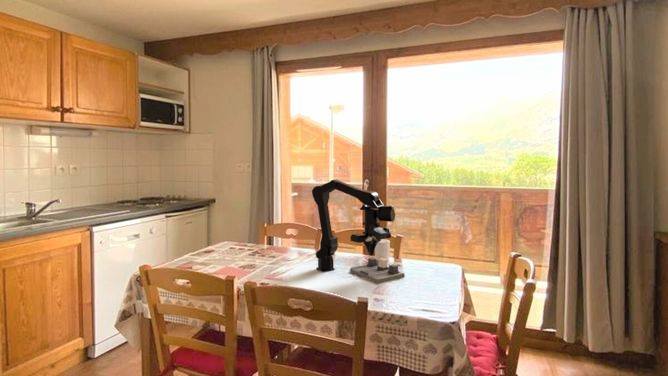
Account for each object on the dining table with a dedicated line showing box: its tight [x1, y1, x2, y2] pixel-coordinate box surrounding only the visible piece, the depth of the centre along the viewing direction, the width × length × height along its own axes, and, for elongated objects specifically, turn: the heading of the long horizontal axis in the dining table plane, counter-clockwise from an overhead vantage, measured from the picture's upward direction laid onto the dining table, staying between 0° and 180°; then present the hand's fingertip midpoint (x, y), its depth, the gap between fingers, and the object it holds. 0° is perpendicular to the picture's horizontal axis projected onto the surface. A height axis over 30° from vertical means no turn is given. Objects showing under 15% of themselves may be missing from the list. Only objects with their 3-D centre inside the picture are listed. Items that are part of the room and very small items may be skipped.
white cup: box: [374, 238, 391, 262], centre depth 205 cm, size 8×8×10 cm
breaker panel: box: [349, 257, 405, 284], centre depth 180 cm, size 15×20×5 cm
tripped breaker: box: [377, 258, 389, 271], centre depth 182 cm, size 3×4×5 cm
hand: (371, 255), depth 178 cm, fingers closed
